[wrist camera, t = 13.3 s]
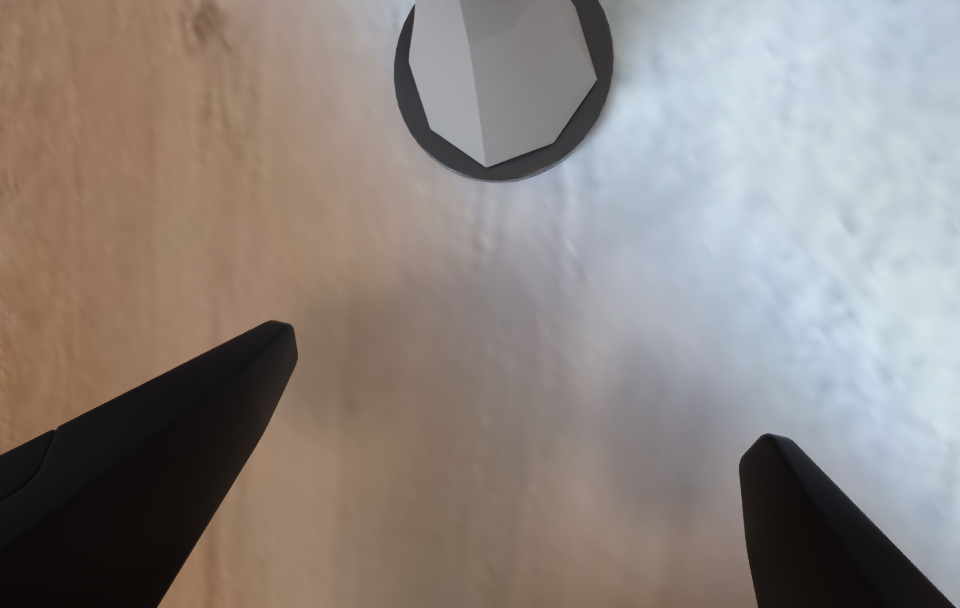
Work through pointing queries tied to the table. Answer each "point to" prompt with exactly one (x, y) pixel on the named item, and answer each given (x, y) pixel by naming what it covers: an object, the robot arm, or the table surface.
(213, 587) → the table surface
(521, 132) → the flask
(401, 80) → the slate coaster
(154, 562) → the robot arm
